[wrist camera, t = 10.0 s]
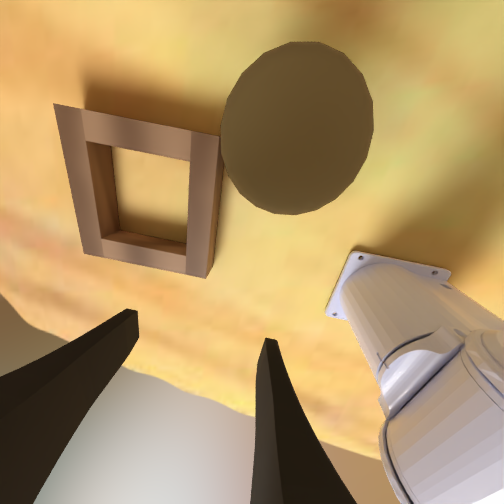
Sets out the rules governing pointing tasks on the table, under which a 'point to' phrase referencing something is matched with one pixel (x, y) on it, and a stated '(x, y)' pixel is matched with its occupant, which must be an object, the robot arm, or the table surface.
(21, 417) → the robot arm
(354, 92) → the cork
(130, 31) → the table surface
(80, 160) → the walnut holder
